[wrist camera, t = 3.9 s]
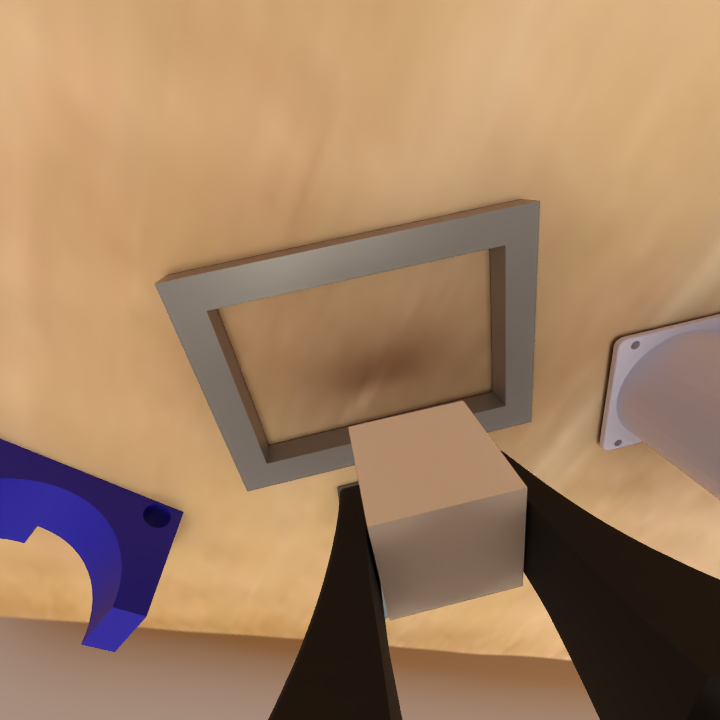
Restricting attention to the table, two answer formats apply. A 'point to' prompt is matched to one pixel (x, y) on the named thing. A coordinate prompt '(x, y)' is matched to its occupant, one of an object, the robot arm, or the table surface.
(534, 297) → the pocket frame
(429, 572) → the cream block
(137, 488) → the table surface
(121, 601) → the cable clip
